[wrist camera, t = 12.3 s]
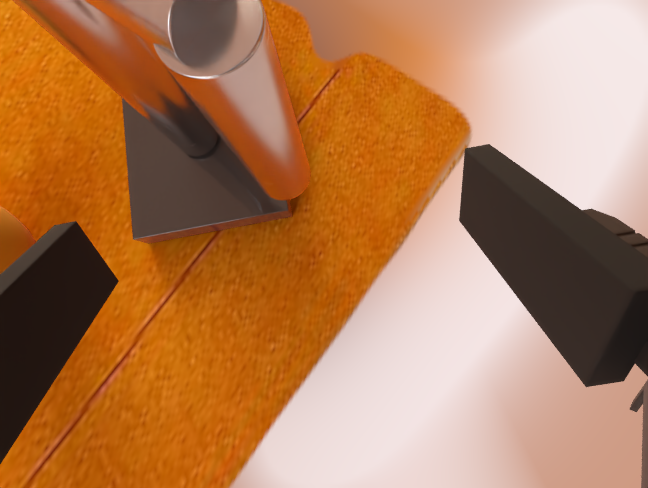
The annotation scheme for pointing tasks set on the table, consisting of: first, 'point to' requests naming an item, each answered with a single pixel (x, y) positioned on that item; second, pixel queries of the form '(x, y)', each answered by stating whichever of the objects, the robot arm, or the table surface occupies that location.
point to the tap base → (188, 187)
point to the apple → (12, 239)
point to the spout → (192, 75)
